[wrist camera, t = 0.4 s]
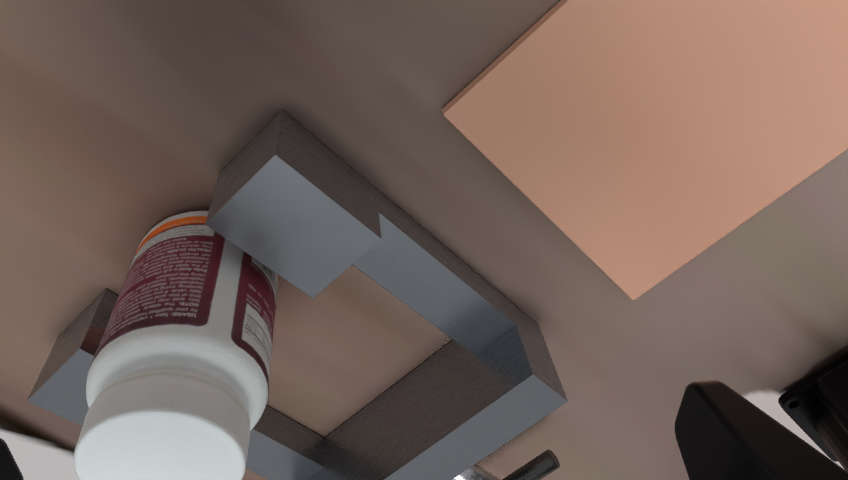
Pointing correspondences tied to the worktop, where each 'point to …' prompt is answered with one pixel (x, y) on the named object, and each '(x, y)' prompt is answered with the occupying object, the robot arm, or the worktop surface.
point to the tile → (662, 120)
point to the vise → (399, 274)
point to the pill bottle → (180, 361)
